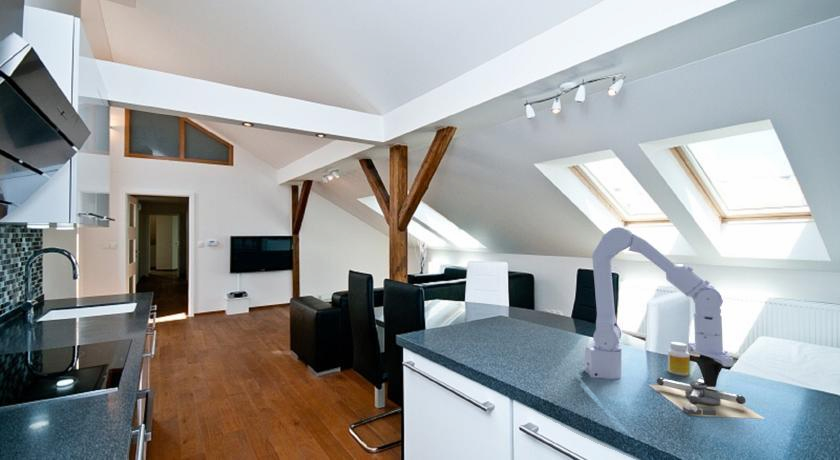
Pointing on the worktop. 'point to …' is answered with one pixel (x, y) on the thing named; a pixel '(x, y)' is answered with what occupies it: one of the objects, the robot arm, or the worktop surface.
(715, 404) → the cam capstan
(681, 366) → the supplement bottle
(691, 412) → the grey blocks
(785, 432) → the worktop surface
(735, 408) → the stand plate
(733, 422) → the worktop surface
